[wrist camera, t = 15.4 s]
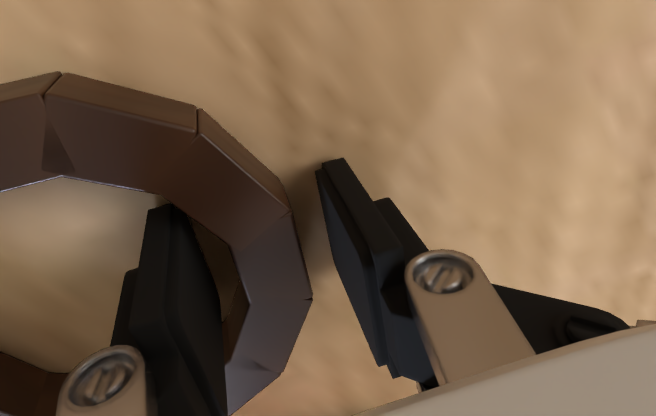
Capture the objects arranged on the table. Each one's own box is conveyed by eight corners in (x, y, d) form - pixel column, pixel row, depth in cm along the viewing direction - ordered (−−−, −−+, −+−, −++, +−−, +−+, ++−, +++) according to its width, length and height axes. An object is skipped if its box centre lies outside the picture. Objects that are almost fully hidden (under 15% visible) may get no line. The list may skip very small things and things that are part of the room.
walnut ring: (-292, 150, 8) (-380, 190, 7) (241, 28, 9) (249, 43, 8) (3, 451, 13) (-17, 505, 12) (325, 349, 14) (337, 389, 13)
